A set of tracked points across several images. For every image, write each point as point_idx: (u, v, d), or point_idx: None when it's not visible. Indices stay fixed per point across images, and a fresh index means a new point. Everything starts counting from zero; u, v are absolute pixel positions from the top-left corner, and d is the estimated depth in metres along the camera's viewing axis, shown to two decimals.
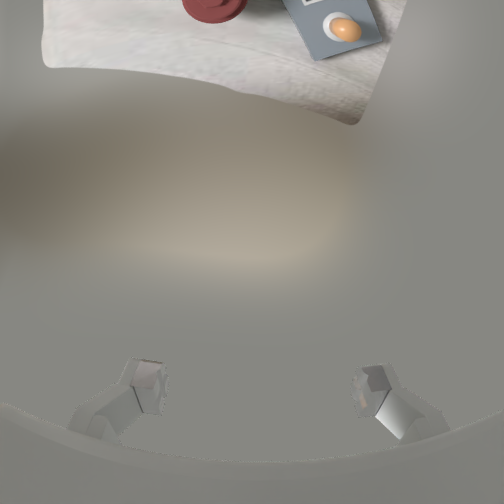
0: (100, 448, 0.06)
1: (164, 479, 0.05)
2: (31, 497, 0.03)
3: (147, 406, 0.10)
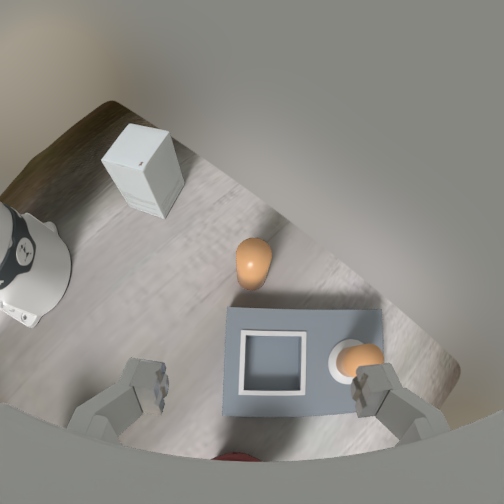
0: (100, 448, 0.06)
1: (164, 479, 0.05)
2: (31, 497, 0.03)
3: (147, 406, 0.10)
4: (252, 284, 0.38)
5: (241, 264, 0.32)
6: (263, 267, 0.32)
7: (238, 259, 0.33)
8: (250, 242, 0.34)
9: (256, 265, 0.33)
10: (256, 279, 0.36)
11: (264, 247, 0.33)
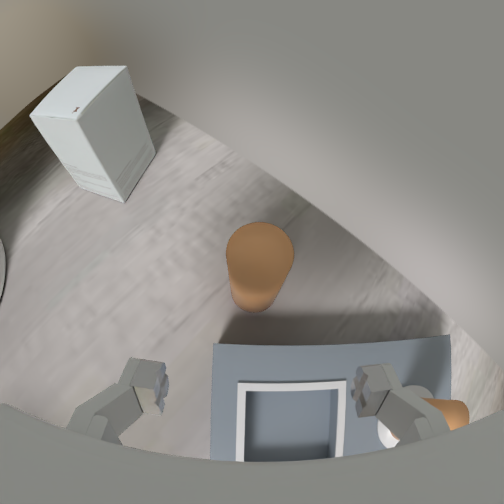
0: (100, 448, 0.06)
1: (164, 479, 0.05)
2: (31, 498, 0.03)
3: (147, 406, 0.10)
4: (256, 305, 0.22)
5: (236, 272, 0.17)
6: (278, 277, 0.17)
7: (230, 262, 0.17)
8: (253, 230, 0.18)
9: (265, 274, 0.17)
10: (264, 297, 0.20)
11: (279, 239, 0.18)
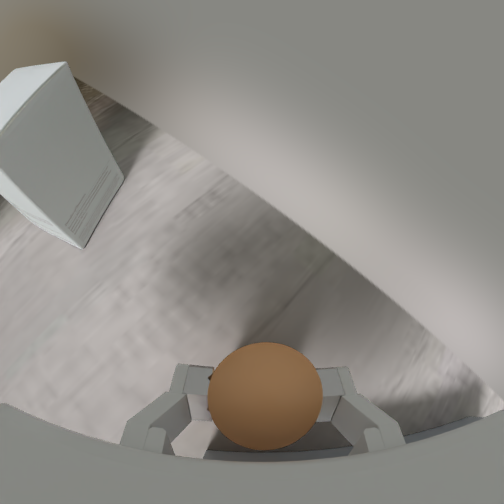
0: (100, 448, 0.06)
1: (164, 479, 0.05)
2: (31, 498, 0.03)
3: (198, 413, 0.10)
4: None
5: (225, 431, 0.09)
6: (295, 437, 0.09)
7: (215, 415, 0.09)
8: (253, 358, 0.10)
9: (273, 433, 0.09)
10: None
11: (299, 374, 0.09)
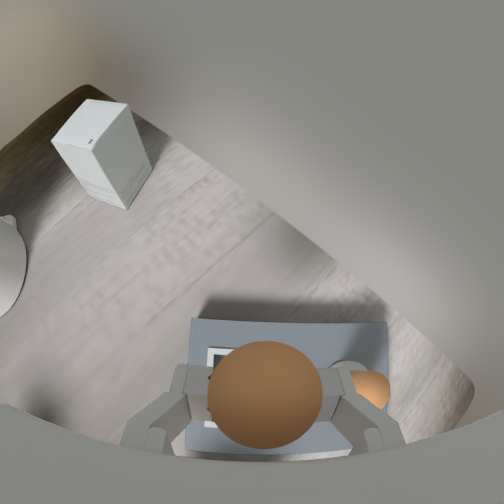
0: (100, 448, 0.06)
1: (164, 479, 0.05)
2: (31, 497, 0.03)
3: (198, 413, 0.10)
4: None
5: (225, 429, 0.09)
6: (295, 436, 0.09)
7: (215, 414, 0.09)
8: (253, 357, 0.10)
9: (273, 431, 0.09)
10: None
11: (299, 372, 0.09)
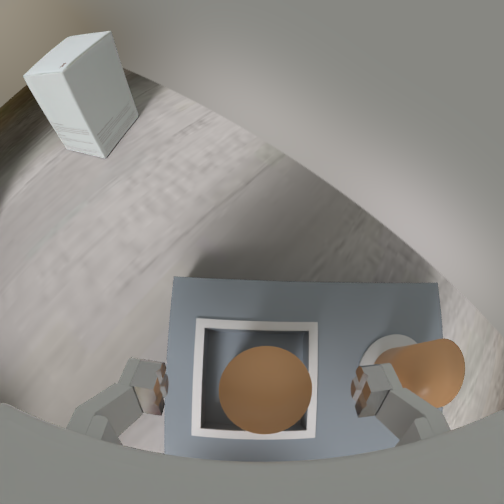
0: (100, 448, 0.06)
1: (164, 479, 0.05)
2: (31, 497, 0.03)
3: (147, 406, 0.10)
4: None
5: (233, 418, 0.11)
6: (290, 423, 0.11)
7: (225, 406, 0.11)
8: (256, 359, 0.12)
9: (272, 419, 0.11)
10: None
11: (293, 371, 0.12)
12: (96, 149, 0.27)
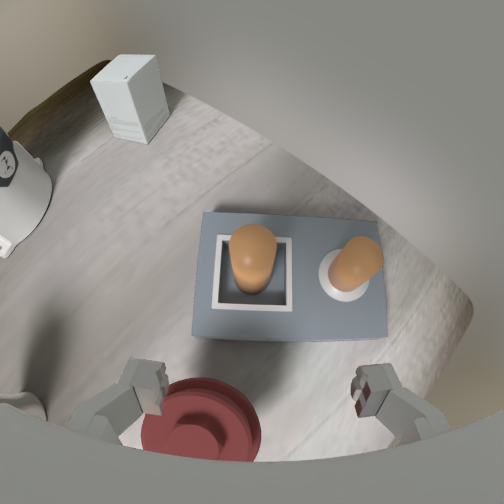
0: (100, 448, 0.06)
1: (164, 479, 0.05)
2: (31, 498, 0.03)
3: (147, 406, 0.10)
4: (253, 286, 0.29)
5: (236, 259, 0.24)
6: (266, 262, 0.24)
7: (232, 253, 0.24)
8: (247, 230, 0.25)
9: (256, 260, 0.24)
10: (257, 279, 0.27)
11: (266, 236, 0.25)
12: (142, 137, 0.40)
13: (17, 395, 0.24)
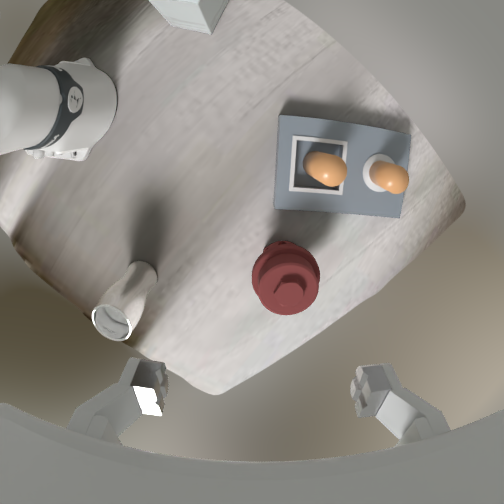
0: (100, 448, 0.06)
1: (164, 479, 0.05)
2: (31, 497, 0.03)
3: (147, 406, 0.10)
4: None
5: (321, 180, 0.35)
6: (340, 182, 0.35)
7: (318, 176, 0.34)
8: (328, 159, 0.34)
9: (334, 181, 0.35)
10: None
11: (341, 164, 0.34)
12: (206, 30, 0.34)
13: (134, 270, 0.47)
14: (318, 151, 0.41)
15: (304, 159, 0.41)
